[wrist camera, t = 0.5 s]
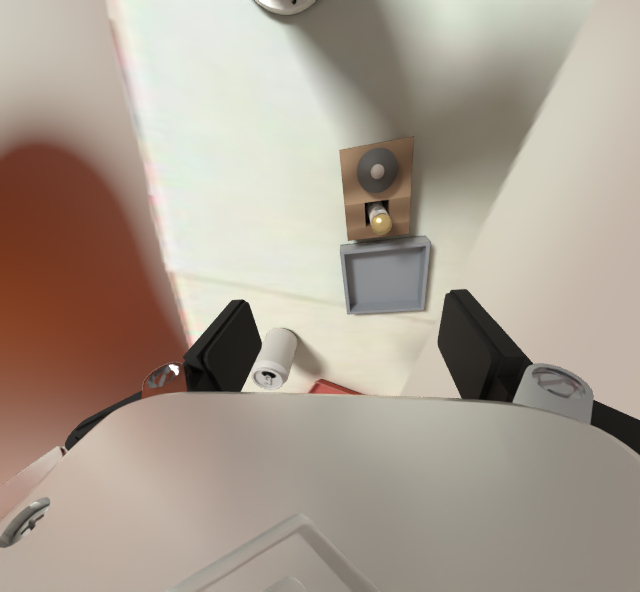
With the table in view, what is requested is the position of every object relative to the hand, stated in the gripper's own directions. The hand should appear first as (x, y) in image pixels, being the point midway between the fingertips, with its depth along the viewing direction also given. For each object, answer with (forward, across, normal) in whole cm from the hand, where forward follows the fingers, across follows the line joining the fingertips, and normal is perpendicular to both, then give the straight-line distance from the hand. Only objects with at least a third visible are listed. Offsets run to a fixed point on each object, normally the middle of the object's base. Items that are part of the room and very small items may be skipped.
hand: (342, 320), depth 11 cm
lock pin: (+30, -4, 0) cm, 30 cm away
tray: (+31, -5, +12) cm, 33 cm away
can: (+31, +17, +27) cm, 45 cm away
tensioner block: (+30, -4, -2) cm, 30 cm away
